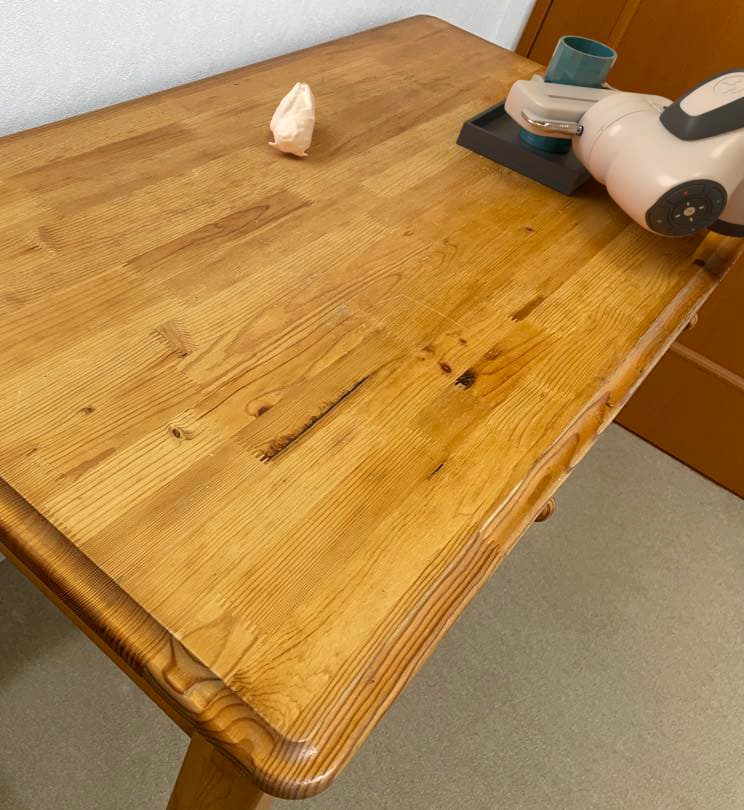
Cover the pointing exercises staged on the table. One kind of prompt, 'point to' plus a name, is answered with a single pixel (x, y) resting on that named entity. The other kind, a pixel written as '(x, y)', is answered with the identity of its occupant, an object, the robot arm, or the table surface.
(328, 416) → the table surface
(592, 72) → the cup
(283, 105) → the white crumpled piece
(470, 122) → the tray
